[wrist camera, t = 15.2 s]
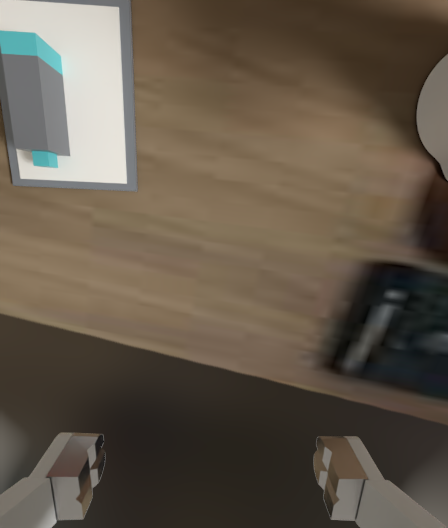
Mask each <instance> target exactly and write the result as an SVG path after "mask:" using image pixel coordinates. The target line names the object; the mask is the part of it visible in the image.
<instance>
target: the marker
mask: <svg viewBox="0 0 448 528" xmlns="http://www.w3.org/2000/svg"><path fill="white" fill-rule="evenodd" d="M0 46H1V53H2V60H3V67H4V74H5V81H6V88H7V95H8V103H9V110H10V117H11V124H12V131H13V138H14V145H15V149H19V150H23V151H28V152H32V157H33V165H34V166H38V167H47V168H58V161H57V156H70V148H69V137H68V126H67V115H66V105H65V94H64V83H63V73H62V62H61V56H60V55H59V54H58V53H57V52H56V51H55V50H54V49H53V48H51V47H50V46H49V45H48V44H47V43H46V42H45V41H44V40H43V39H41V38H40V37H39V36H38V35H37V34H36V33H31V32H16V31H1V30H0Z"/></svg>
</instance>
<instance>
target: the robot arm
mask: <svg viewBox="0 0 448 528" xmlns="http://www.w3.org/2000/svg"><path fill="white" fill-rule="evenodd" d="M417 127H418V132H419V136H420V138H421V141H422V143H423V145H424V146H425V148H426V149H427V151H428V152H429V153H430V154H431V155H432V156H433V157H434V158H435V159H436V160H437V161H438V162H439V163H440V165H441V168H442V171H443V174H444V176H445V178H446V180H447V181H448V54H447V55H446V56H445V57H444V58H443V59H442V60H441V61H440V62H439V63H438V64H437V65H436V66H435V68H434V69H433V70H432V72H431V73H430V75H429V76H428V78H427V80H426V82H425V84H424V86H423V88H422V91H421V94H420V97H419V101H418V106H417ZM103 443H104V438H103V434H89V433H88V434H87V433H60V434H59V435H58V436H57V437H56V438H55V439H54V441H53V442H52V444H51V445H50V447H49V448H48V450H47V451H46V453H45V454H44V455H43V457H42V458H41V460H40V462H39V463H38V464H37V466H36V467H35V469H34V470H33V472H32V474H31V475H30V476H29V478H23V479H22V480H20V481H19V482H18V483H16V484H15V485H14V486H12V487H11V488H10V489H8V490H7V491H5V492H4V493H2V494H1V495H0V528H52V526H53V525H54V524H55V523H56V520H77V519H84V516H85V514H86V512H87V509H88V507H89V505H90V502H91V500H92V497H93V495H92V488H93V487H94V486H96V485H97V484H98V483H99V480H100V478H101V475H102V472H103V468H104V464H105V451H104V450H103V449H102V448H101V447H102V445H103ZM316 446H317V448H318V450H317V451H316V452H315V453H314V461H313V462H314V471H315V475H316V479H317V481H318V484H319V485H320V486H321V487H322V488H323V489H324V496H323V499H324V501H325V504H326V507H327V510H328V512H329V515H330V518H331V520H352V521H356V523H357V524H358V526H359V527H360V528H447V527H446V526H445V525H443V524H442V523H441V522H439V521H438V520H437V519H436V518H434V517H433V516H432V515H431V514H430V513H429V512H427V511H426V510H425V509H424V508H422V507H421V506H420V505H419V504H417V503H416V502H415V501H414V500H413V499H411V498H410V497H409V496H408V495H406V494H405V493H404V492H402V491H401V490H400V489H399V488H398V487H396V486H395V485H394V484H393V483H392V482H390V481H389V480H384V478H383V477H382V475H381V473H380V472H379V470H378V468H377V466H376V465H375V463H374V461H373V460H372V458H371V456H370V455H369V453H368V451H367V450H366V448H365V447H364V445H363V443H362V442H361V440H360V439H359V438H358V437H343V436H322V437H321V436H319V437H318V438H317V441H316Z"/></svg>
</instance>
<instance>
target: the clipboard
mask: <svg viewBox="0 0 448 528" xmlns="http://www.w3.org/2000/svg"><path fill="white" fill-rule="evenodd" d="M0 30H1V31H16V32H31V33H36V34H37V35H38V36H39V37H40V38H41V39H43V40H44V41H45V42H46V43H47V44H48V45H49V46H50V47H51V48H53V49H54V50H55V51H56V52H57V53H58V54H59V55H60V56H61V62H62V73H63V83H64V94H65V105H66V115H67V126H68V137H69V148H70V156H57V161H58V168H47V167H38V166H34V165H33V157H32V152H28V151H23V150H19V149H15V145H14V138H13V131H12V124H11V117H10V110H9V103H8V95H7V88H6V81H5V74H4V67H3V60H2V53H1V46H0V100H1V106H2V113H3V120H4V127H5V134H6V140H7V147H8V154H9V161H10V167H11V174H12V181H13V186H33V187H54V188H76V189H97V190H119V191H138V185H137V157H136V129H135V101H134V72H133V44H132V16H131V0H0Z"/></svg>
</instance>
